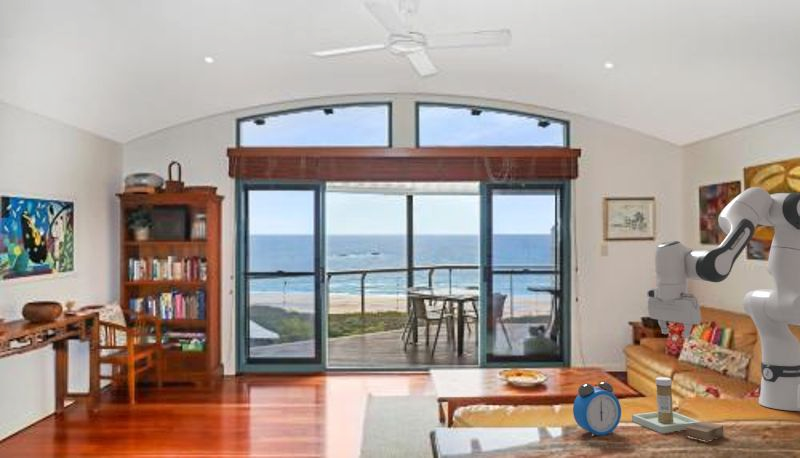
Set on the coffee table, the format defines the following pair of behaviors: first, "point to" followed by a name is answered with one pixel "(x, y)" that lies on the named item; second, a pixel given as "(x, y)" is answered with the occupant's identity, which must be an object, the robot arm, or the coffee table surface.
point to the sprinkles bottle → (664, 400)
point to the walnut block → (704, 431)
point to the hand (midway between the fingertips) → (675, 335)
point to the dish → (652, 422)
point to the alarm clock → (597, 408)
